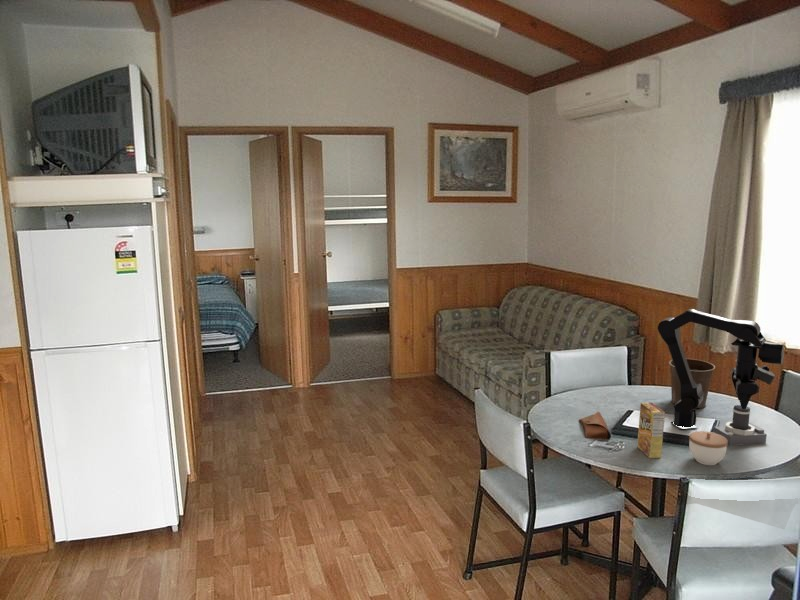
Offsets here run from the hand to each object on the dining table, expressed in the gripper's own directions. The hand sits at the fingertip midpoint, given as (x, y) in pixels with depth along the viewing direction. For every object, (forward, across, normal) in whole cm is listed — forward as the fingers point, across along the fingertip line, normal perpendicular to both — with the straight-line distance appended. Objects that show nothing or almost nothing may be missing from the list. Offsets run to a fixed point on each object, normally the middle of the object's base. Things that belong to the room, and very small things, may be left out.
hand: (741, 404), depth 214 cm
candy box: (+12, -23, +28) cm, 38 cm away
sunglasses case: (+13, -9, +46) cm, 49 cm away
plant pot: (+12, +30, +14) cm, 35 cm away
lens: (+9, -1, 0) cm, 9 cm away
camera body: (+12, -1, 0) cm, 12 cm away
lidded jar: (+12, -23, +12) cm, 29 cm away
